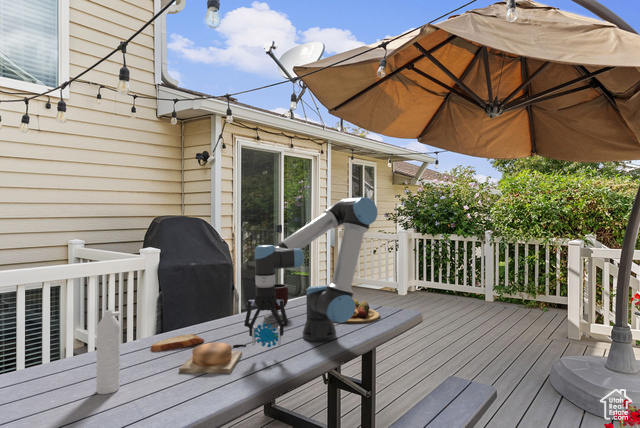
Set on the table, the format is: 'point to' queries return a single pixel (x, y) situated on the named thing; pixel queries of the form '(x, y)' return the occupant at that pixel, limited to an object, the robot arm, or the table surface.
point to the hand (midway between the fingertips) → (266, 344)
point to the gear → (266, 335)
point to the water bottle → (108, 353)
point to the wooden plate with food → (362, 314)
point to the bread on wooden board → (211, 359)
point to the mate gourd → (280, 294)
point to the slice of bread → (177, 342)
